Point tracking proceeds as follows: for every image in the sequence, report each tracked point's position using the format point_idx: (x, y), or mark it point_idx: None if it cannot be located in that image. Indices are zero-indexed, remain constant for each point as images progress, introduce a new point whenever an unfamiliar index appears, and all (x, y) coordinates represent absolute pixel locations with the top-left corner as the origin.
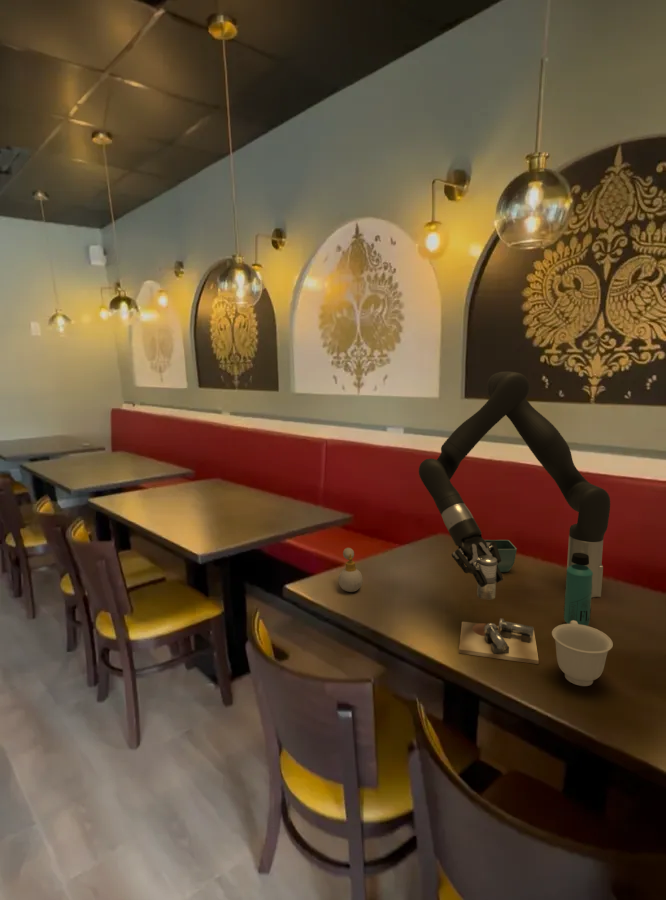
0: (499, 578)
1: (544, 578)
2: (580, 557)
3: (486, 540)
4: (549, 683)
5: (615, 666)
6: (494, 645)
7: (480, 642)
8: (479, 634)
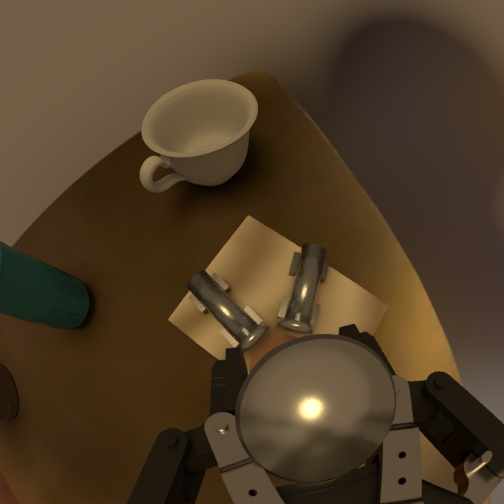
0: (242, 356)
1: (26, 463)
2: None
3: None
4: (271, 171)
5: (133, 180)
6: (323, 268)
7: (330, 317)
8: None
